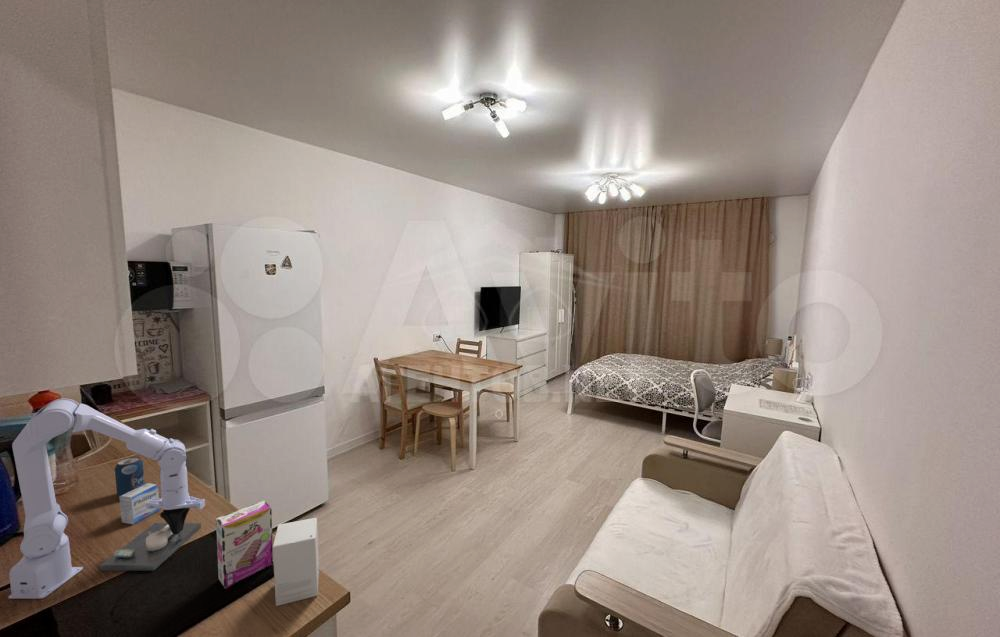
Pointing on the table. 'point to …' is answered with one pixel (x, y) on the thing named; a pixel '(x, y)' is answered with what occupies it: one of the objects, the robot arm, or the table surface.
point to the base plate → (143, 560)
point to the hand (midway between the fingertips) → (177, 531)
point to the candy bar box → (244, 543)
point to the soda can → (129, 475)
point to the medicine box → (138, 503)
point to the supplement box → (296, 561)
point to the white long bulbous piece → (158, 539)
